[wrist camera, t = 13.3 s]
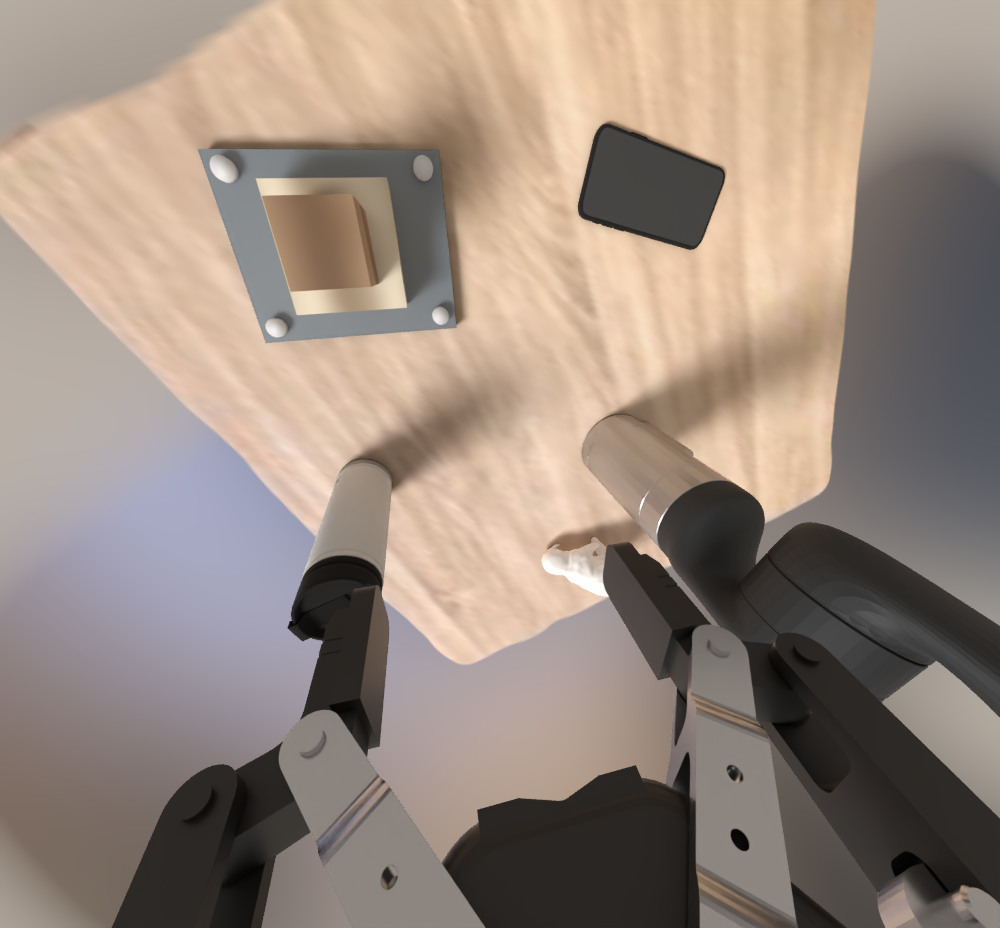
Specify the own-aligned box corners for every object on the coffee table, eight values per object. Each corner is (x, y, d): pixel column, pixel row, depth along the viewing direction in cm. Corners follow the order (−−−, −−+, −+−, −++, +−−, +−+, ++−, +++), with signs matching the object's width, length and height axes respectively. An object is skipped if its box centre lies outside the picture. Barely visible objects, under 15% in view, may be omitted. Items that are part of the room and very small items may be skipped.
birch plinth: (389, 188, 30) (386, 177, 27) (407, 304, 34) (407, 307, 31) (274, 189, 29) (255, 178, 25) (308, 310, 33) (296, 315, 29)
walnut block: (365, 211, 27) (351, 193, 21) (379, 283, 30) (370, 286, 24) (295, 213, 26) (261, 195, 20) (315, 287, 29) (290, 291, 23)
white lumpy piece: (622, 607, 52) (545, 603, 50) (601, 566, 60) (533, 561, 57) (638, 575, 50) (557, 570, 47) (613, 536, 57) (543, 530, 55)
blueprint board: (438, 154, 31) (439, 146, 29) (455, 326, 37) (457, 328, 36) (205, 153, 28) (192, 145, 26) (270, 340, 34) (262, 344, 33)
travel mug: (324, 472, 42) (264, 612, 25) (376, 450, 42) (352, 574, 25) (353, 510, 45) (317, 658, 28) (401, 490, 45) (395, 624, 28)
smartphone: (698, 252, 39) (577, 216, 35) (692, 252, 40) (573, 218, 35) (730, 168, 36) (600, 118, 31) (723, 171, 37) (595, 121, 32)
